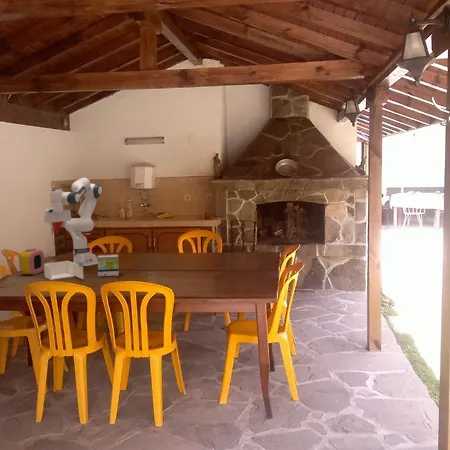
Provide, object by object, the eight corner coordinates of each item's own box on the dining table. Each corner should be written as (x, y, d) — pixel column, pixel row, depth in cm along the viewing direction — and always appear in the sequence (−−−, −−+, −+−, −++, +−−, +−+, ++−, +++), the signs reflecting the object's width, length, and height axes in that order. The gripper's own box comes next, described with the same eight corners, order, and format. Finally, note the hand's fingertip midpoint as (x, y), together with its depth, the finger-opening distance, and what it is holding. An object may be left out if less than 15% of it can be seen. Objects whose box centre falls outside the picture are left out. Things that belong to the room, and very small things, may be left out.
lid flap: (73, 275, 367) (72, 259, 366) (76, 275, 368) (75, 259, 367) (81, 279, 353) (80, 262, 352) (84, 278, 355) (83, 262, 353)
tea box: (98, 277, 364) (97, 257, 363) (98, 274, 374) (97, 255, 373) (119, 275, 367) (118, 256, 366) (119, 273, 377) (118, 253, 376)
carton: (68, 273, 380) (67, 260, 379) (75, 276, 369) (74, 263, 368) (44, 277, 369) (43, 263, 368) (50, 280, 358) (49, 266, 357)
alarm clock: (32, 276, 373) (30, 250, 371) (19, 276, 375) (17, 250, 373) (45, 271, 391) (44, 247, 389) (33, 271, 393) (31, 246, 391)
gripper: (69, 208, 387) (70, 226, 389) (42, 210, 375) (43, 228, 377) (71, 208, 382) (73, 226, 384) (45, 210, 370) (46, 229, 372)
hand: (58, 227), depth 380 cm, fingers open, 8 cm apart
